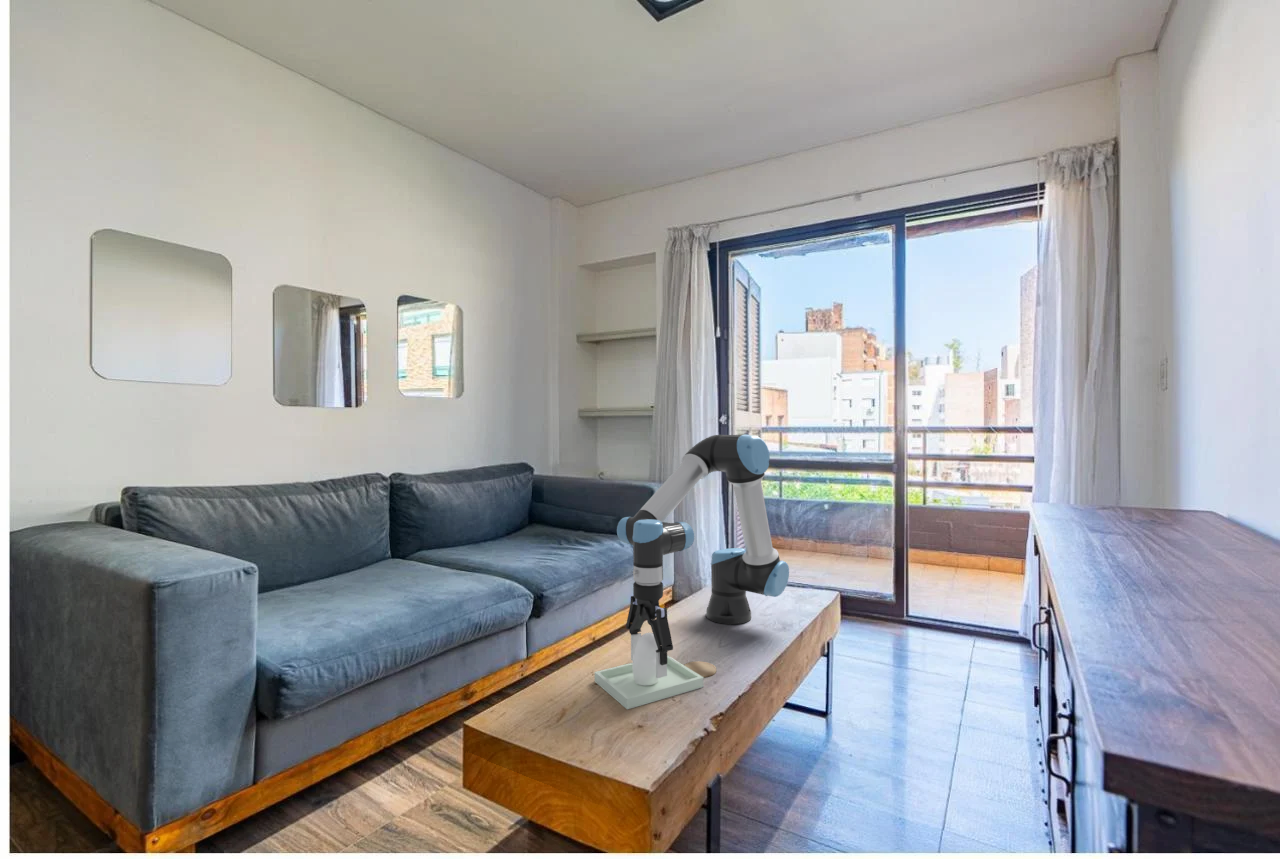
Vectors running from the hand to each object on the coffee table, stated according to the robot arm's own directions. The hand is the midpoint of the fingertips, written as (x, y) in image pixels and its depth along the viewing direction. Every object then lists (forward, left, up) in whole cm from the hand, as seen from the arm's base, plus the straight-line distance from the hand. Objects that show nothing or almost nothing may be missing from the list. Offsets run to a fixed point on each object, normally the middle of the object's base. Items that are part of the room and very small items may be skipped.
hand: (648, 667), depth 144 cm
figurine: (0, 0, -4) cm, 4 cm away
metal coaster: (-16, 0, -4) cm, 17 cm away
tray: (0, 0, -4) cm, 4 cm away
